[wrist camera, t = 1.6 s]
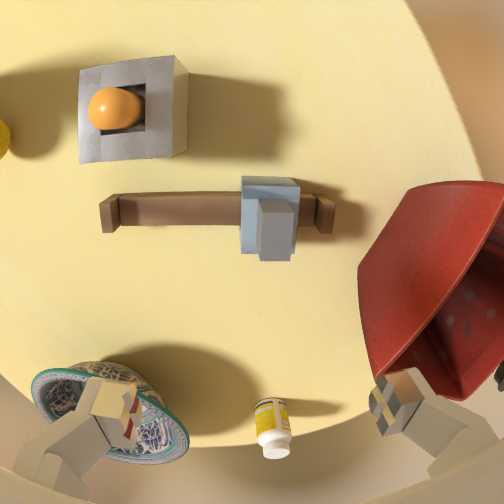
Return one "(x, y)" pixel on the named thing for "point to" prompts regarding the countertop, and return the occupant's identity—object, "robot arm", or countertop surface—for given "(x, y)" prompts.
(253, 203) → the carriage
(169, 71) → the grey cube with hole
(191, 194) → the rail
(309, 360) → the countertop surface
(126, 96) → the gauge button
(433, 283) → the plant pot
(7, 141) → the lemon
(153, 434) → the bowl
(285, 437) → the supplement bottle
